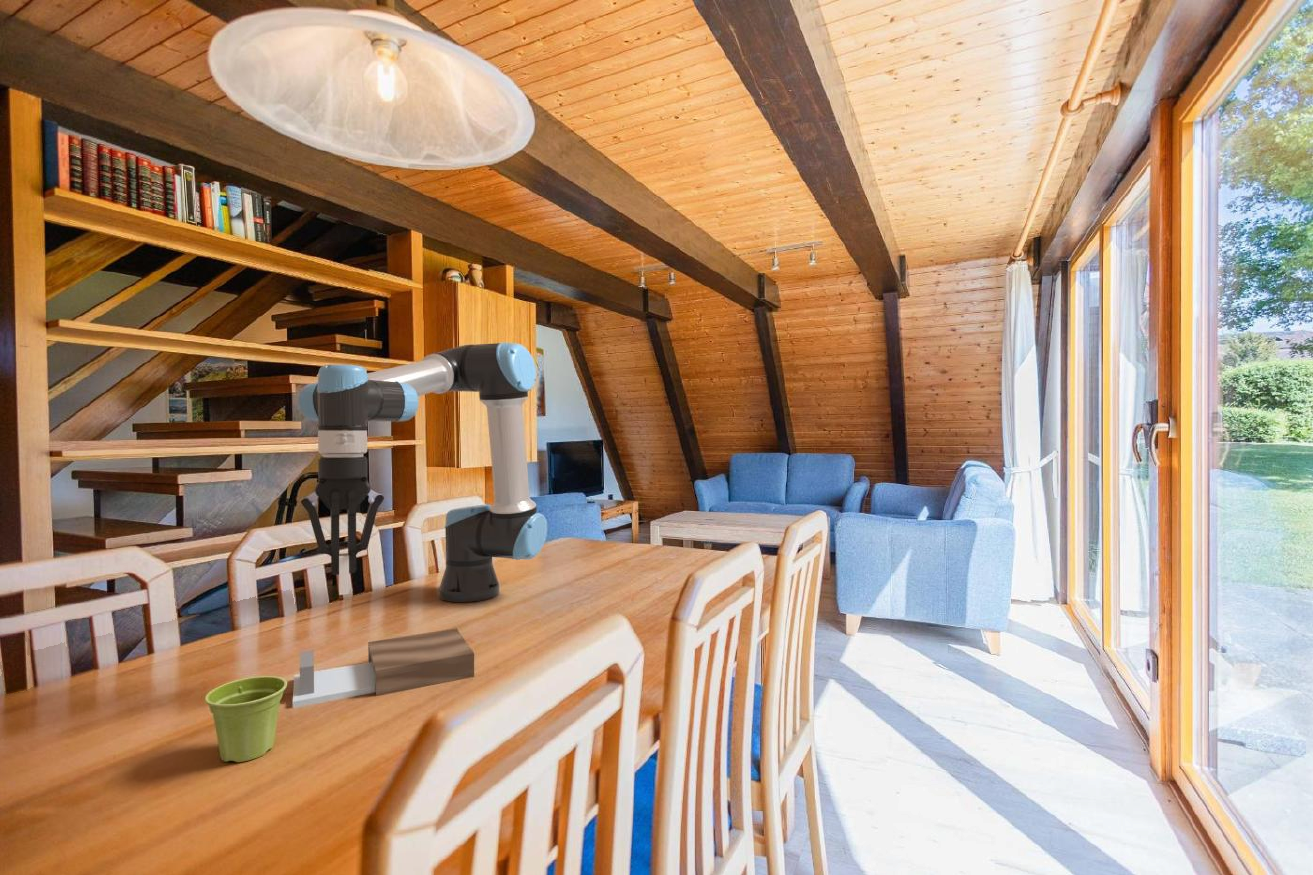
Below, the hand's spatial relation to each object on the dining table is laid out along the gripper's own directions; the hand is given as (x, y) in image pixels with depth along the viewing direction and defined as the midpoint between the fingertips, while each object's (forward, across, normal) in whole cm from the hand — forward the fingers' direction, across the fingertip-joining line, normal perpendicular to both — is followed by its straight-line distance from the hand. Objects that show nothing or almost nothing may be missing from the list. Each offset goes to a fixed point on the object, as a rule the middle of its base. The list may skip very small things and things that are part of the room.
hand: (343, 592), depth 107 cm
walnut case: (+16, +12, 0) cm, 20 cm away
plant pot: (+16, -13, -18) cm, 27 cm away
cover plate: (+17, +4, 0) cm, 17 cm away
